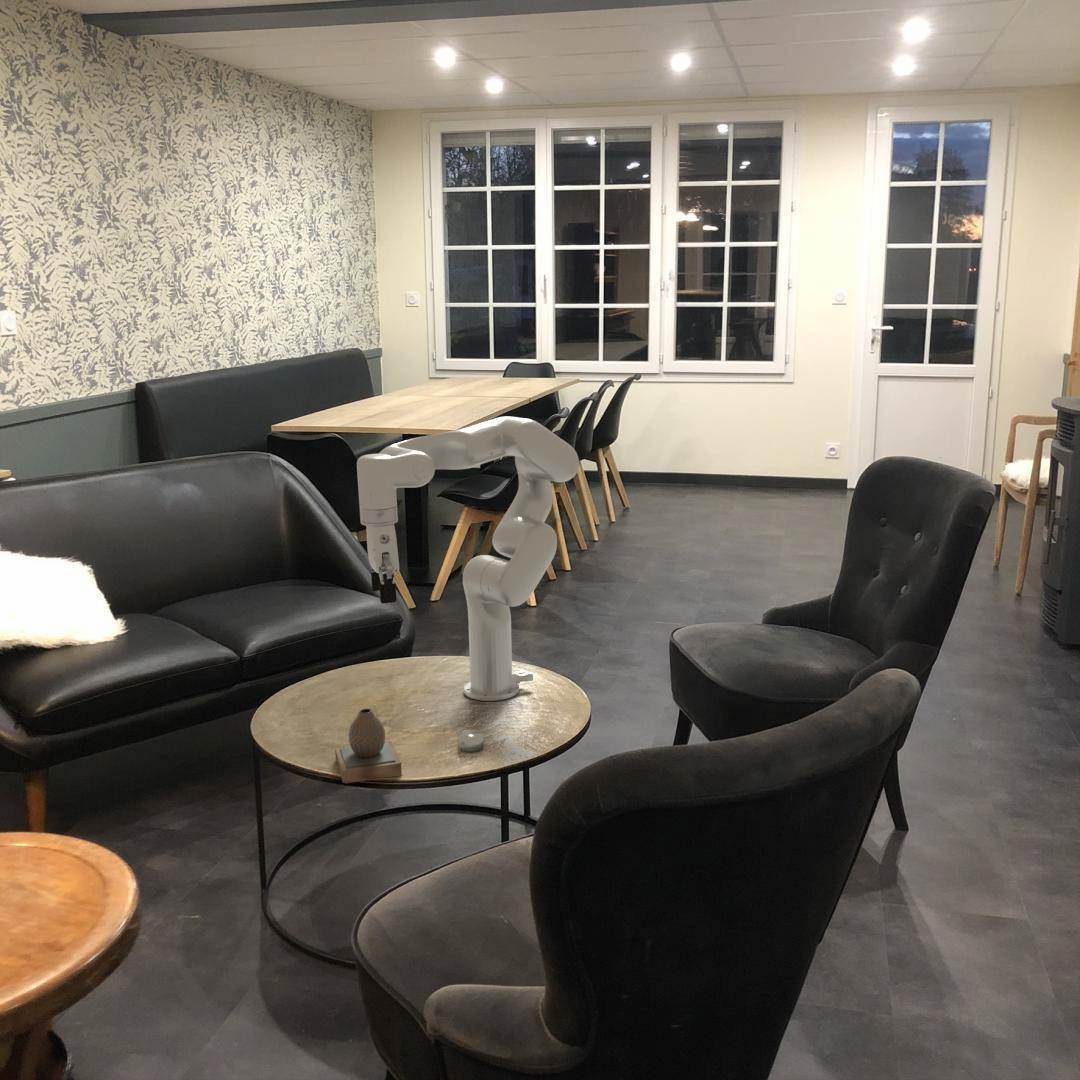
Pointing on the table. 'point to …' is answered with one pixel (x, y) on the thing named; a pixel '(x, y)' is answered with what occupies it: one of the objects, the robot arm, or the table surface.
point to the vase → (366, 734)
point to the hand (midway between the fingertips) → (384, 596)
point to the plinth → (367, 764)
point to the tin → (470, 741)
